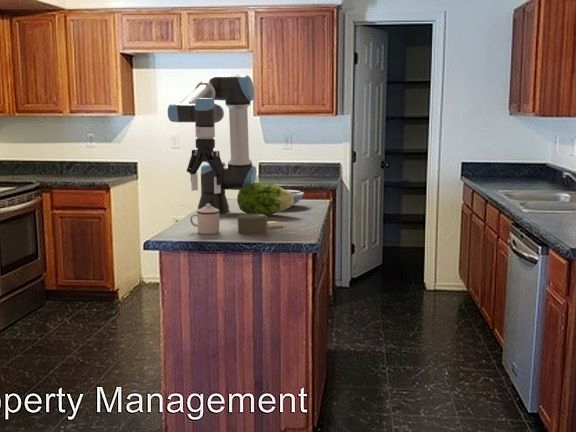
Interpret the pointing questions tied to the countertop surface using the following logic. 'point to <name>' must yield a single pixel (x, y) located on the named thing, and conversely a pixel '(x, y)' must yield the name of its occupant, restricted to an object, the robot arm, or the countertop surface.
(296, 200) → the ramen bowl
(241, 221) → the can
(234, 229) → the countertop surface
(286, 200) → the lettuce
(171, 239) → the countertop surface
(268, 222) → the beech coaster
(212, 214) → the teacup with lid
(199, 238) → the countertop surface
